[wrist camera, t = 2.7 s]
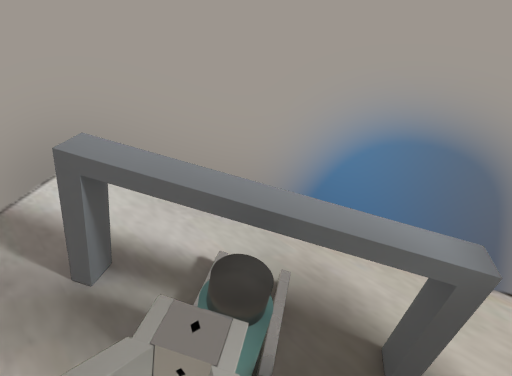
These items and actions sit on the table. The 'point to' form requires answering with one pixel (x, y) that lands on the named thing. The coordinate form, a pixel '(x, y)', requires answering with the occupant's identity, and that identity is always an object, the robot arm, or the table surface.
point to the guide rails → (275, 323)
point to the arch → (283, 222)
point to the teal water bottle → (241, 301)
